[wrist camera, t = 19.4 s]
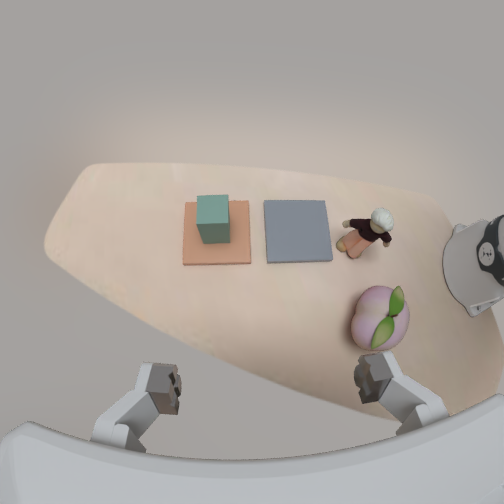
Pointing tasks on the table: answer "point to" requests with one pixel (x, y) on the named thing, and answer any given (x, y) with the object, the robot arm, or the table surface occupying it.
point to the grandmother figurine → (366, 232)
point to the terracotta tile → (218, 252)
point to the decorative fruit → (380, 318)
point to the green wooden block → (213, 218)
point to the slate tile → (297, 231)
